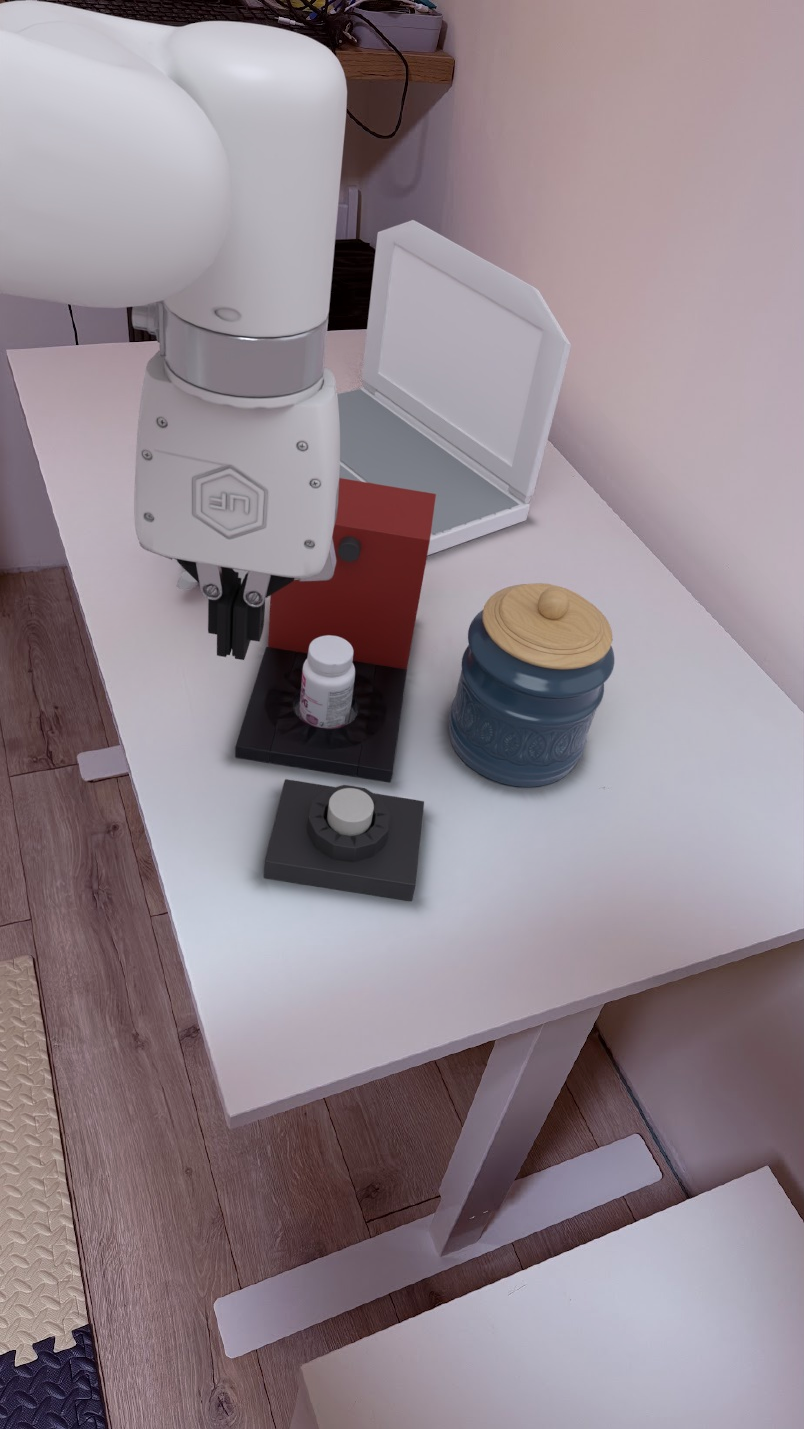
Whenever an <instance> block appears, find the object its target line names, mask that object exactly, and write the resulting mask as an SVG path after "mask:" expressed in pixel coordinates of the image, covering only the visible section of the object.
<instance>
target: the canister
mask: <svg viewBox="0 0 804 1429" xmlns="http://www.w3.org/2000/svg"><path fill="white" fill-rule="evenodd" d="M467 642H468V645H467V646H466V648H465V650H464V652H463V654H462V658H461V669H460V671H461V672H460V675H459V679H458V684H457V688H456V691H455V696H454V698H453V699H452V702H451V706H450V710H449V716H448V726H449V738H450V741H451V744H452V746H453V748H454V750H455V752H456V754H457V755H458V756H459V758H460V759H461V760H462V761H463V762H464V763H465V764H466V765H467V766H468V767H470V768H471V770H474V771H475V772H476V773H478V774H480V775H482V776H483V777H486V778H487V779H490V780H492V781H494V782H497V783H500V784H504V785H507V786H513V787H522V788H530V787H531V788H532V787H541V786H546V785H549V784H553V783H555V782H558V781H559V780H561V779H562V778H564V777H565V776H567V775H568V774H569V773H570V772H571V771H572V769H574V767H575V765H576V764H577V763H578V762H579V760H580V758H582V755H583V752H584V750H585V749H586V748H585V747H586V745H587V741H588V733H589V730H590V728H591V725H592V722H593V719H594V716H595V714H596V711H597V709H598V708H599V706H600V705H601V703H602V700H603V699H604V693H605V683H606V682H607V681H608V679H609V678H610V677H611V675H612V673H613V671H614V667H615V653H614V649H613V646H612V644H613V631H612V626H611V624H610V622H609V621H608V619H607V618H606V616H605V615H604V614H603V612H602V611H601V610H600V609H599V608H598V607H597V606H596V605H594V604H593V603H591V601H588V600H587V599H586V598H584V597H583V596H582V595H580V594H578V593H577V592H575V591H573V590H570V589H567V588H566V587H563V586H559V585H555V584H552V583H551V584H549V583H541V582H540V583H539V582H538V583H523V584H520V583H519V584H515V585H510V586H506V587H504V588H501V589H500V590H497V591H496V592H494V593H493V594H492V595H491V596H490V597H489V598H488V599H487V601H486V602H485V604H484V606H483V608H482V609H481V610H480V611H479V612H478V613H477V614H476V615H475V616H474V617H473V619H472V620H471V622H470V623H469V627H468V630H467Z"/></svg>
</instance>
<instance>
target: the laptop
mask: <svg viewBox="0 0 804 1429" xmlns="http://www.w3.org/2000/svg"><path fill="white" fill-rule="evenodd" d="M367 318H368V319H367V324H366V325H367V326H366V334H365V335H366V336H365V343H364V344H365V345H364V354H363V363H362V370H361V380H362V383H361V385H362V387H361V388H354V389H350V390H346V391H342V392H337V397H338V408H339V421H340V474H339V478H343V479H349V480H355V481H361V482H367V483H373V484H379V485H385V486H391V487H397V488H403V489H409V490H415V491H421V492H427V493H433V494H436V499H435V506H434V514H433V521H432V528H431V536H430V543H429V548H428V554H427V556H430V555H432V554H436V553H438V552H441V551H445V550H447V549H450V548H453V547H456V546H458V545H460V544H464V543H466V542H469V541H472V540H474V539H477V538H481V537H484V536H486V535H488V534H492V533H494V532H497V531H500V530H502V529H505V528H508V527H512V526H514V525H516V524H520V523H522V522H525V521H527V520H528V519H527V518H528V514H529V511H530V507H531V506H530V505H531V504H530V503H529V502H530V501H531V500H532V496H534V494H535V489H536V486H537V483H538V478H539V474H540V470H541V466H542V462H543V459H544V454H545V451H546V447H547V444H548V440H549V435H550V431H551V428H552V424H553V420H554V415H555V413H556V412H555V411H556V408H557V404H558V400H559V396H560V391H561V388H562V385H563V384H562V383H563V381H564V376H565V374H566V373H565V372H566V368H567V365H568V360H569V356H570V353H571V349H572V344H571V342H570V341H569V339H568V337H567V336H566V334H565V332H564V330H563V328H562V327H561V325H560V324H559V322H558V320H557V319H556V317H555V315H554V314H553V312H552V310H551V308H550V307H549V305H548V303H547V302H546V300H545V298H544V297H543V295H542V293H541V292H540V290H539V289H538V288H536V287H535V286H533V285H531V284H530V283H527V282H526V281H524V280H522V279H521V278H519V277H517V276H515V275H514V274H512V273H510V272H508V271H507V270H504V269H503V268H501V267H499V266H497V265H495V264H494V263H492V262H490V261H488V260H486V259H485V258H483V257H481V256H479V255H477V254H476V253H474V252H472V251H471V250H468V249H467V248H465V247H463V246H462V245H459V244H457V243H456V242H454V241H452V240H450V239H449V238H447V237H445V236H444V235H442V234H440V233H438V232H436V231H434V230H433V229H431V228H429V227H427V226H426V225H423V224H421V223H420V222H418V221H416V220H414V219H411V220H408V221H406V222H403V223H400V224H397V225H395V226H391V227H388V228H386V229H383V230H380V231H377V236H376V245H375V253H374V262H373V271H372V280H371V290H370V300H369V308H368V315H367Z"/></svg>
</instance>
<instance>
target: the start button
mask: <svg viewBox="0 0 804 1429" xmlns="http://www.w3.org/2000/svg"><path fill="white" fill-rule="evenodd" d="M373 810H374V804H373V801H372V799H371V797H370V796H369V795H368V794H366V793H365V792H363V791H361V790H359V789H355V788H345V789H341V790H338V791H337V792H335V793H334V794H333V795H332V796H331V798H330V800H329V806H328V814H327V820H328V823H329V825H330V827H331V828H332V829H333V830H334V831H336V832H338V833H340V834H342V835H348V836H355V835H359V834H362V833H364V832H365V831H366V830H367V829H368V828H369V827H370V825H371V821H372V815H373Z"/></svg>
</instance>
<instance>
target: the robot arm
mask: <svg viewBox="0 0 804 1429" xmlns="http://www.w3.org/2000/svg"><path fill="white" fill-rule="evenodd" d="M347 104H348V86H347V78H346V75H345V72H344V68H343V67H342V64H341V63H340V60H339V58H338V57H337V56H336V55H335V54H334V52H332V50H331V49H329V47H327V45H324V44H323V43H321V42H319V41H318V40H316V39H314V38H312V37H309V36H307V35H304V34H301V33H298V32H295V31H291V30H288V29H284V28H279V27H275V26H270V25H264V24H258V23H252V22H243V21H230V20H209V21H208V20H207V21H199V22H195V23H189V24H186V25H182V26H175V25H174V26H173V25H165V24H159V23H155V22H148V21H142V20H136V19H130V18H124V17H121V16H115V15H110V14H106V13H101V12H96V11H92V10H88V9H83V8H79V7H74V6H70V5H65V4H60V3H54V2H51V1H50V2H49V1H42V0H12V1H11V0H10V1H6V2H2V3H0V294H2V295H3V294H4V295H9V296H13V297H14V296H15V297H20V298H28V299H32V300H39V301H46V302H52V303H53V302H54V303H59V304H64V305H65V304H66V305H72V306H79V307H88V308H100V309H101V308H102V309H104V308H105V309H106V308H107V309H121V308H132V309H131V323H132V327H133V329H135V330H142V331H147V332H148V334H149V335H153V336H155V337H156V338H155V339H156V341H157V343H159V350H157V352H156V353H155V354H154V355H153V356H152V357H151V358H150V359H149V360H148V362H147V364H146V366H145V371H144V376H143V381H142V387H141V395H140V401H139V408H138V409H139V410H138V418H137V419H138V420H137V430H136V445H135V463H134V464H135V465H134V494H133V495H134V496H133V497H134V499H133V504H134V505H133V513H134V514H133V515H134V528H135V534H136V538H137V541H139V542H138V543H139V546H140V547H141V548H142V549H143V550H145V551H147V552H149V553H152V554H155V555H158V556H160V557H163V558H166V559H169V560H171V561H172V560H175V561H176V562H177V563H178V564H179V565H180V566H181V567H182V568H183V569H184V571H185V570H186V571H187V572H188V573H189V574H190V575H191V576H192V577H193V578H194V579H195V580H196V581H197V582H198V583H199V584H198V585H199V588H200V593H201V595H202V596H203V597H204V598H205V599H207V602H208V603H207V633H208V634H211V635H215V636H216V656H217V657H223V658H227V656H232V657H234V659H235V660H240V661H245V659H246V655H247V653H248V650H249V647H250V644H251V641H252V642H261V639H262V637H263V632H264V626H265V613H266V599H267V598H269V597H270V595H272V594H273V593H275V592H277V591H278V590H280V589H282V588H283V587H285V586H286V585H288V584H290V583H291V582H292V581H293V580H300V581H326V580H330V579H331V578H332V577H333V575H334V571H335V567H336V555H335V549H334V544H333V538H332V535H333V529H334V526H335V521H336V517H337V509H338V495H339V474H340V421H339V408H338V397H337V393H338V390H337V382H336V377H335V375H334V373H333V371H331V370H330V368H328V367H327V366H325V359H326V347H327V337H328V324H329V313H330V303H331V293H332V292H331V291H332V281H333V268H334V258H335V245H336V237H337V236H336V234H337V225H338V224H337V222H338V212H339V200H340V191H341V190H340V189H341V178H342V168H343V156H344V145H345V143H344V141H345V134H346V133H345V132H346V120H347V107H348V106H347ZM233 569H238V570H244V571H246V572H247V574H246V575H245V578H244V579H243V582H242V584H241V578H238V576H239V572H235V571H234V570H233Z"/></svg>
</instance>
